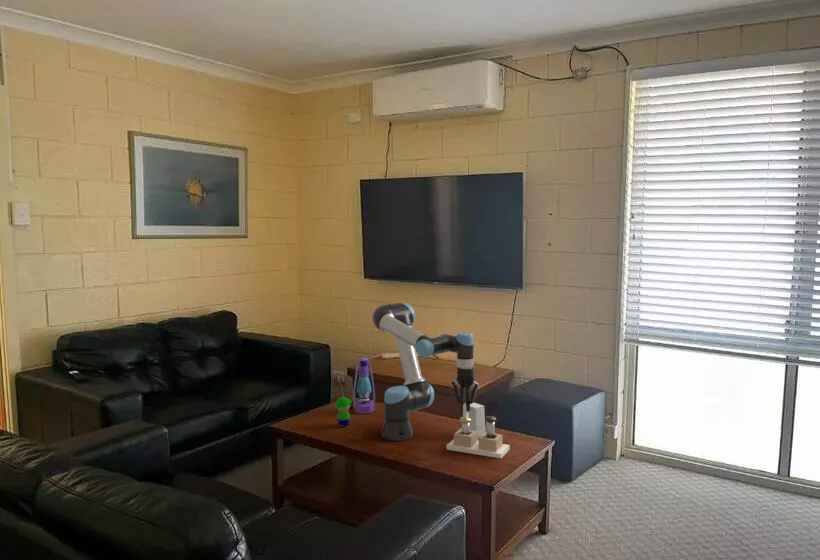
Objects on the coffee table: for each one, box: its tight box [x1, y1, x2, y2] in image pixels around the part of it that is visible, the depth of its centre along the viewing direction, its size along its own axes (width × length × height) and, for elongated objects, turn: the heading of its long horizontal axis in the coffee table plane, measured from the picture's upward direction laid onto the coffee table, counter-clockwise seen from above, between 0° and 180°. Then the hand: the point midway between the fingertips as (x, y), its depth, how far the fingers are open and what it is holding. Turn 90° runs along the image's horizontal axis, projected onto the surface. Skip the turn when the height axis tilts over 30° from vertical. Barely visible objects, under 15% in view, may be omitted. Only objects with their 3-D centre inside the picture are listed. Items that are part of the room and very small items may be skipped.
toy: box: [333, 396, 354, 427], centre depth 318 cm, size 9×9×15 cm
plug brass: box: [459, 416, 471, 435], centre depth 285 cm, size 5×5×9 cm
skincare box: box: [468, 402, 486, 439], centre depth 302 cm, size 8×6×15 cm
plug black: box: [485, 415, 497, 439], centre depth 280 cm, size 5×5×9 cm
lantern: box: [352, 356, 376, 414], centre depth 342 cm, size 13×12×30 cm
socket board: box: [445, 428, 511, 459], centre depth 283 cm, size 26×12×7 cm, turn 64°
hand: (465, 418), depth 285 cm, fingers closed
